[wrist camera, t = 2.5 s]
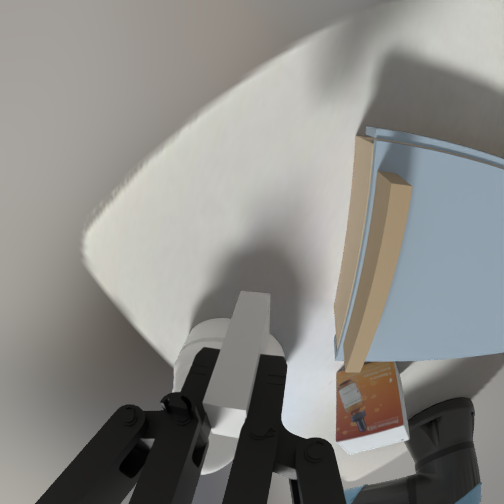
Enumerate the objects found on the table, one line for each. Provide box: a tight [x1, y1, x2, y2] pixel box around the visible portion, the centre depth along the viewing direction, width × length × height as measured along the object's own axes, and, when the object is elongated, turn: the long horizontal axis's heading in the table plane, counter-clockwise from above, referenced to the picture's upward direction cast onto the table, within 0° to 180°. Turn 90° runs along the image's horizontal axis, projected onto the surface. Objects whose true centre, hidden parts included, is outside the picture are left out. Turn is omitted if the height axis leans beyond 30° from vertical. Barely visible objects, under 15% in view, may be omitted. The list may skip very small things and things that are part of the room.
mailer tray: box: [334, 136, 504, 348], centre depth 20 cm, size 17×22×6 cm
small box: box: [336, 361, 410, 455], centre depth 28 cm, size 8×6×10 cm
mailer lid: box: [334, 126, 504, 373], centre depth 16 cm, size 19×22×6 cm
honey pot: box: [172, 318, 285, 475], centre depth 27 cm, size 13×13×18 cm
